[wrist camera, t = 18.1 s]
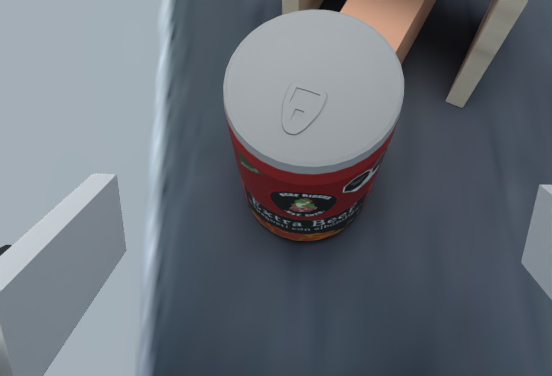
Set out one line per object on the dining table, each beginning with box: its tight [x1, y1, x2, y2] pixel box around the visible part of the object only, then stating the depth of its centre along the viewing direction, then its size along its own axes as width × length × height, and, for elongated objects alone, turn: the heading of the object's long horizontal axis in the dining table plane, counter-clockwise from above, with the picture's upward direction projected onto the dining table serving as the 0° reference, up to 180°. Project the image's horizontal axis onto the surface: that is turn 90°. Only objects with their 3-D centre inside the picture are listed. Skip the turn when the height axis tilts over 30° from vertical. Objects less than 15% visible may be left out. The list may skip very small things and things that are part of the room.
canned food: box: [223, 9, 404, 241], centre depth 25 cm, size 8×8×11 cm
